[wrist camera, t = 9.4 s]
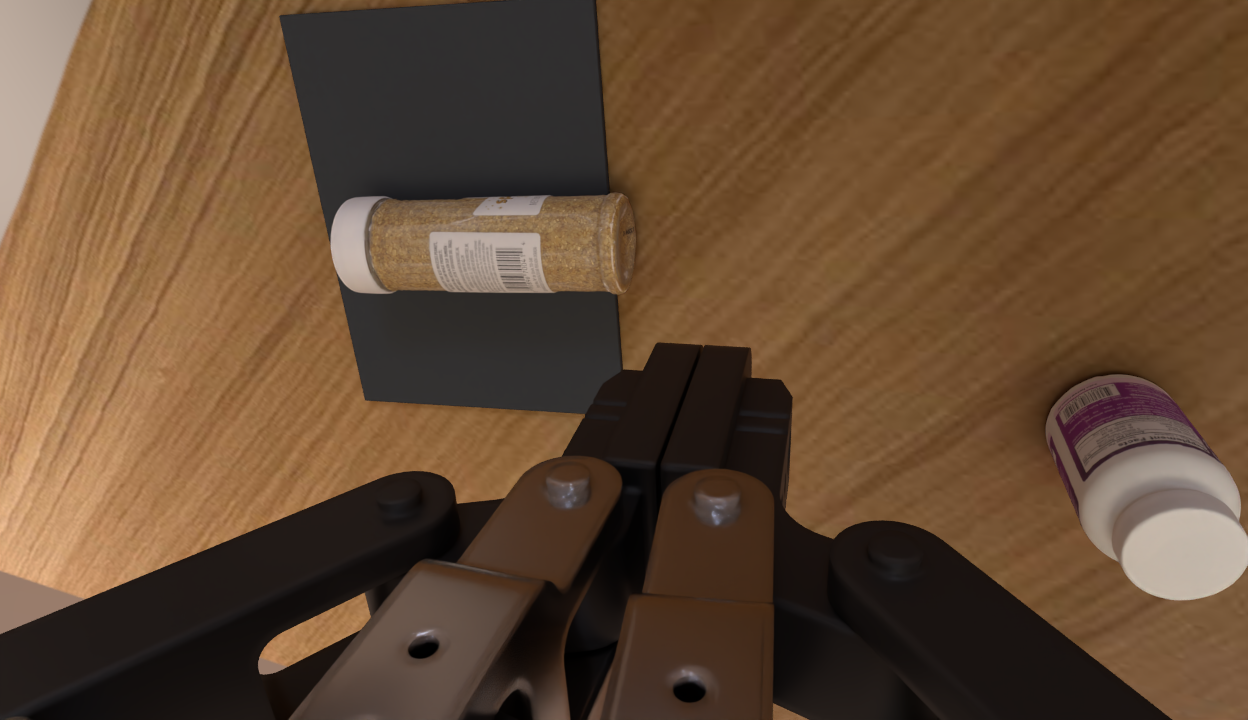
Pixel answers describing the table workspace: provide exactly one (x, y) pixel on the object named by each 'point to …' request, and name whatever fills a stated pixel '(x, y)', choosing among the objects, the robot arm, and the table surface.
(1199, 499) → the pill bottle
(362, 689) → the robot arm
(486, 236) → the sprinkles bottle
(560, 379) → the mat
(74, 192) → the table surface
